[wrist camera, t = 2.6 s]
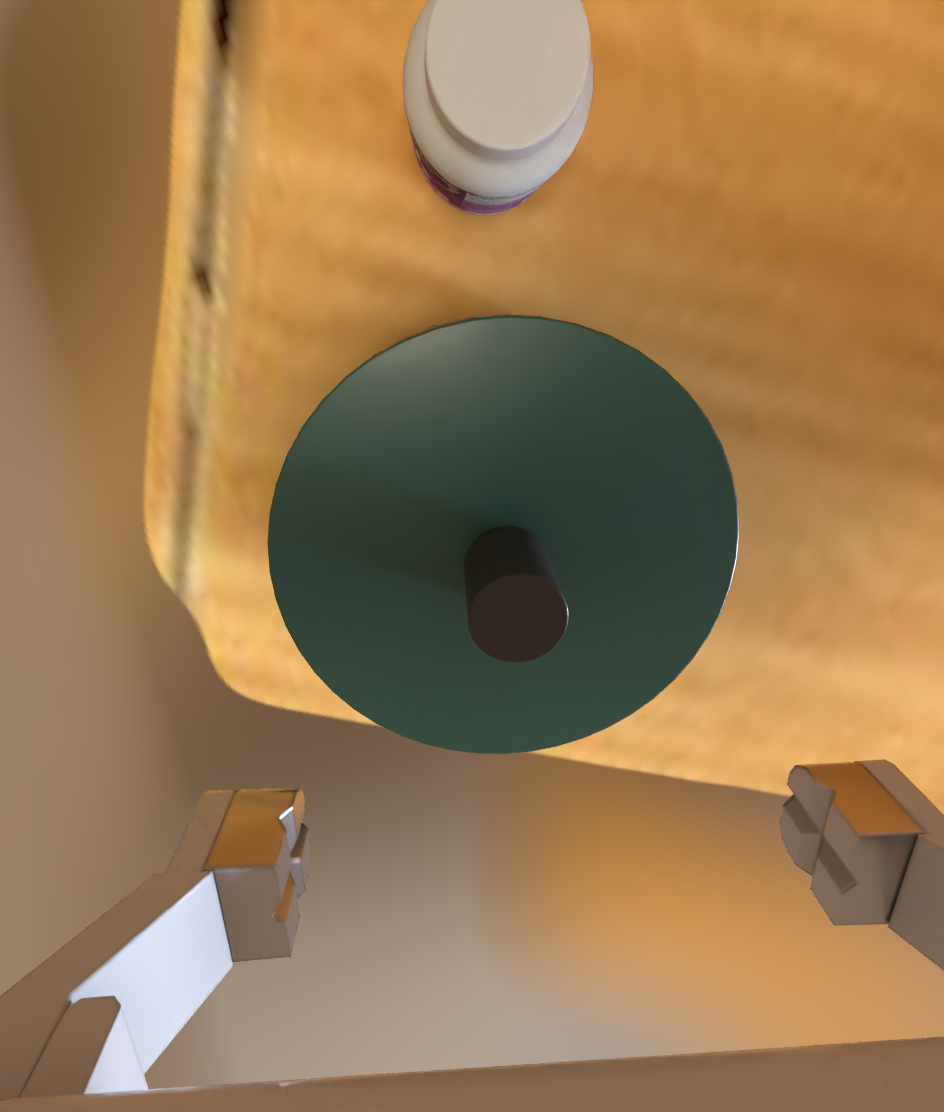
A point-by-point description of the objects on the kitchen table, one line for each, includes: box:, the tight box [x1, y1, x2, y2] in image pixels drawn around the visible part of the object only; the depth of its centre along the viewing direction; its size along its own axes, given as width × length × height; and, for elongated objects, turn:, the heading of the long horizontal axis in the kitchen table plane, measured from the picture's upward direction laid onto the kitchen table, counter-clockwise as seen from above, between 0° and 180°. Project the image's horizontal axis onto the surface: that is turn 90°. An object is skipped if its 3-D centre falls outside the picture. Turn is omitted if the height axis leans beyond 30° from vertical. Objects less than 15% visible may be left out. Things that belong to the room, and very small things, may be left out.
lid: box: [268, 315, 739, 754], centre depth 19 cm, size 14×14×5 cm
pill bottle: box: [403, 0, 594, 215], centre depth 20 cm, size 5×5×10 cm
